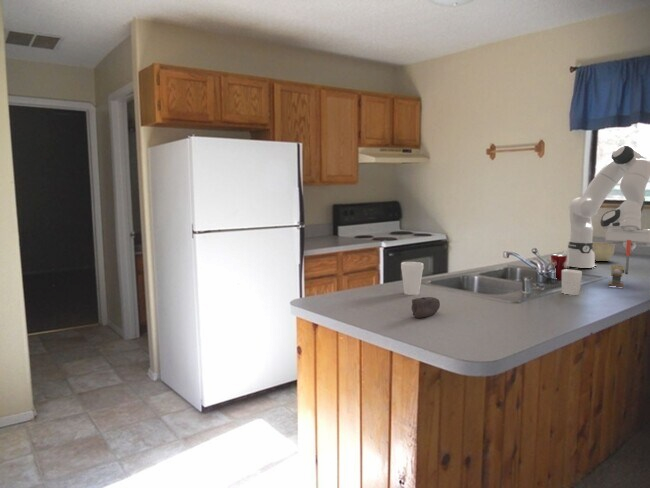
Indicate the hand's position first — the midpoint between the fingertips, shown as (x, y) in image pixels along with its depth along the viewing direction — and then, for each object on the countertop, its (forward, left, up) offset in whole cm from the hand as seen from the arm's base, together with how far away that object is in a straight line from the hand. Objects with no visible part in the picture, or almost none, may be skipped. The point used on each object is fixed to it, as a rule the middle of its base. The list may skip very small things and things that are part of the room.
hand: (629, 251), depth 229 cm
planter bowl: (-72, +26, -16) cm, 78 cm away
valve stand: (+1, -6, -16) cm, 17 cm away
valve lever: (+3, -2, -10) cm, 11 cm away
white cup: (+18, -35, -16) cm, 43 cm away
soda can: (-16, -25, -16) cm, 33 cm away
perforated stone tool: (+53, -104, -16) cm, 118 cm away
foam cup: (+17, -103, -16) cm, 105 cm away
